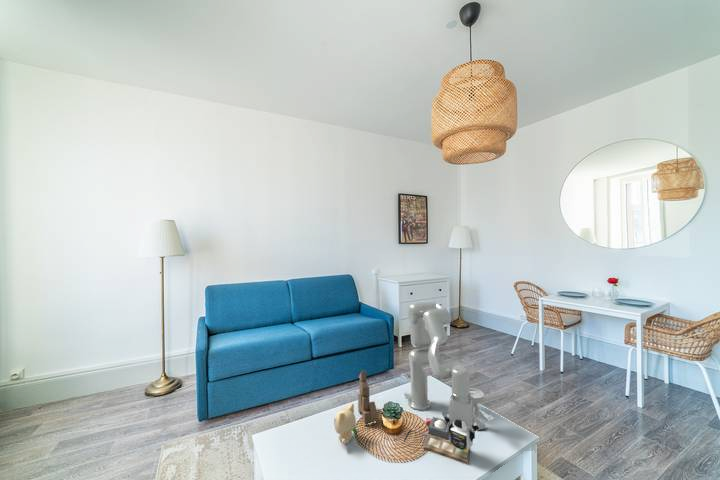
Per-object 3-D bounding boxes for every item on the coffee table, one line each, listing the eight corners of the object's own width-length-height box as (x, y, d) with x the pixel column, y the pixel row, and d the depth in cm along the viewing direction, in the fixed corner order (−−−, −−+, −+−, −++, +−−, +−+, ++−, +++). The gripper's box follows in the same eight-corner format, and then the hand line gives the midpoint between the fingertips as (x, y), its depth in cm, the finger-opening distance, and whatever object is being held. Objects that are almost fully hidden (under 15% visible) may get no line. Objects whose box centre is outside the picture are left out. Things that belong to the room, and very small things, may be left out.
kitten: (347, 426, 143) (346, 396, 143) (363, 433, 137) (362, 403, 138) (327, 443, 131) (327, 411, 131) (344, 452, 125) (343, 418, 125)
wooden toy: (377, 423, 145) (376, 375, 145) (364, 426, 143) (364, 377, 143) (368, 407, 160) (368, 363, 160) (357, 409, 158) (356, 364, 158)
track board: (425, 449, 126) (425, 446, 126) (430, 437, 134) (430, 434, 134) (467, 464, 117) (467, 461, 117) (470, 450, 125) (470, 447, 125)
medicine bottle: (450, 445, 122) (449, 417, 123) (457, 437, 127) (456, 410, 128) (467, 453, 117) (465, 423, 118) (473, 444, 123) (471, 416, 123)
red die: (426, 426, 142) (426, 421, 142) (426, 423, 144) (426, 417, 144) (432, 427, 141) (431, 421, 141) (432, 424, 144) (431, 418, 144)
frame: (400, 442, 131) (400, 441, 131) (408, 428, 140) (408, 428, 140) (423, 450, 125) (423, 449, 125) (430, 435, 135) (430, 435, 135)
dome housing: (428, 434, 136) (428, 426, 136) (433, 423, 144) (433, 416, 144) (447, 440, 132) (447, 432, 132) (451, 428, 140) (451, 421, 140)
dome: (433, 432, 137) (433, 422, 137) (436, 426, 142) (435, 415, 142) (444, 436, 134) (444, 425, 134) (446, 429, 139) (446, 419, 139)
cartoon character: (501, 440, 131) (500, 399, 131) (482, 446, 127) (481, 403, 127) (465, 410, 155) (465, 375, 155) (448, 415, 151) (447, 378, 151)
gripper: (482, 397, 122) (483, 437, 122) (442, 387, 130) (443, 425, 130) (481, 406, 115) (482, 448, 115) (438, 395, 124) (439, 435, 124)
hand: (461, 436), depth 123 cm, fingers closed on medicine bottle, 8 cm apart
